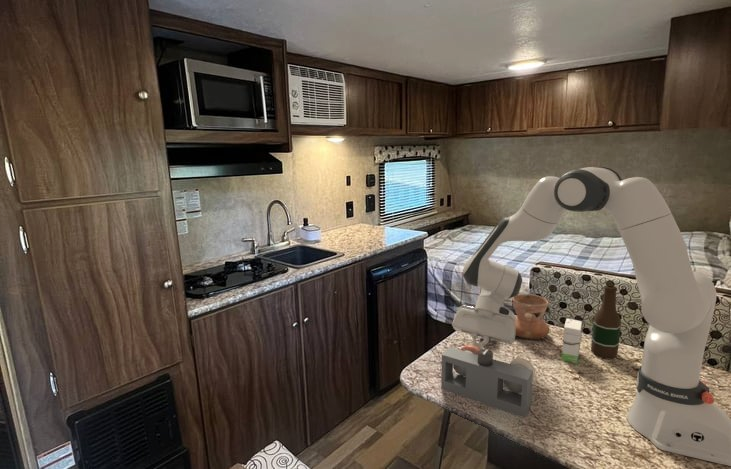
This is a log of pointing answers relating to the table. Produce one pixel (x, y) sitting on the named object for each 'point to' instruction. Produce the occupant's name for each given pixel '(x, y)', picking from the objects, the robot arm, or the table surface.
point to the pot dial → (485, 357)
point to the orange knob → (469, 349)
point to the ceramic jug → (530, 316)
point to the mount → (487, 381)
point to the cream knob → (521, 363)
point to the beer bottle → (606, 326)
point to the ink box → (571, 340)
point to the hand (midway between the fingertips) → (477, 348)
